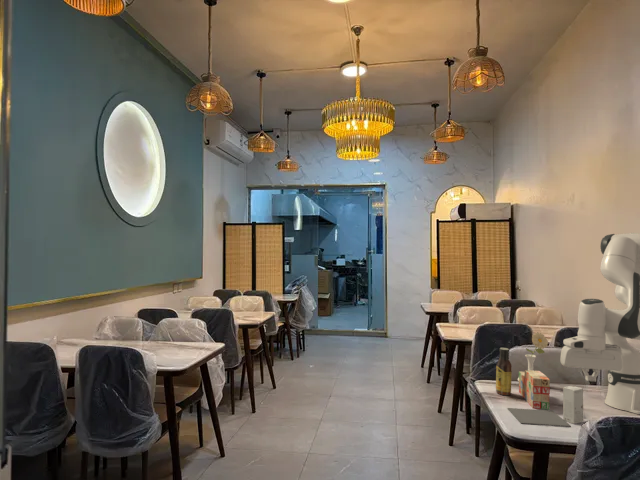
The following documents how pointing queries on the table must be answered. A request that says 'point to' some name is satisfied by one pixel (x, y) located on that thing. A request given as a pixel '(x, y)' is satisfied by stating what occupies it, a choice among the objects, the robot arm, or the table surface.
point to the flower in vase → (540, 343)
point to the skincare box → (573, 404)
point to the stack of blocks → (535, 388)
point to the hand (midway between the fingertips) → (590, 380)
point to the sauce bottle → (503, 373)
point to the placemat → (538, 417)
